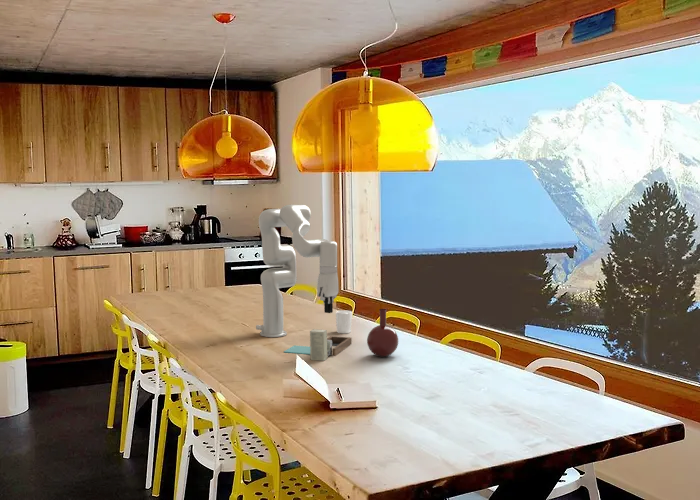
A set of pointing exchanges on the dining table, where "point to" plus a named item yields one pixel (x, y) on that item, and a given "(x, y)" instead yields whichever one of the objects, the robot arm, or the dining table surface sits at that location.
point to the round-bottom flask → (382, 338)
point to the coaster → (298, 350)
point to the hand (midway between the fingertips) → (328, 312)
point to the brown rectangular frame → (343, 343)
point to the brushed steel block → (329, 347)
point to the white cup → (343, 321)
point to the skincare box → (318, 344)
